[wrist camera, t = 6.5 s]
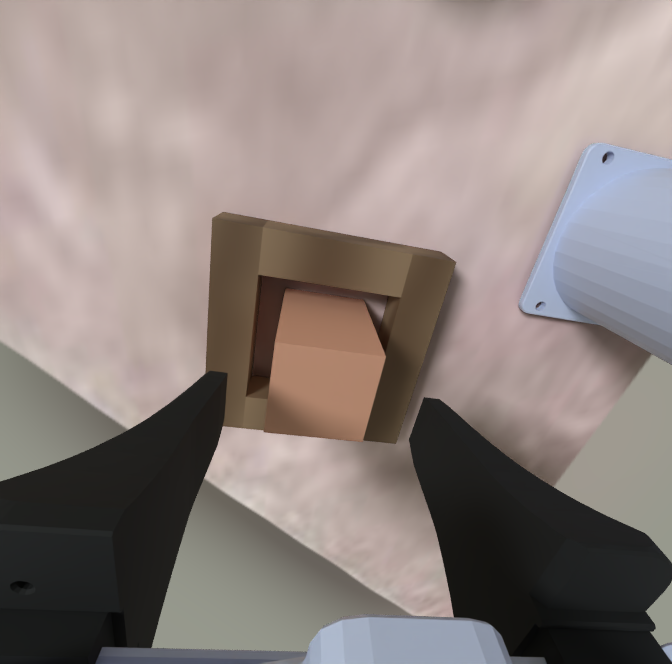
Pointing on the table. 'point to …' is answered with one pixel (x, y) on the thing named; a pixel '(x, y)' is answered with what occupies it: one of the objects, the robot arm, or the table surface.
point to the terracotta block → (323, 367)
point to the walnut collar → (324, 269)
